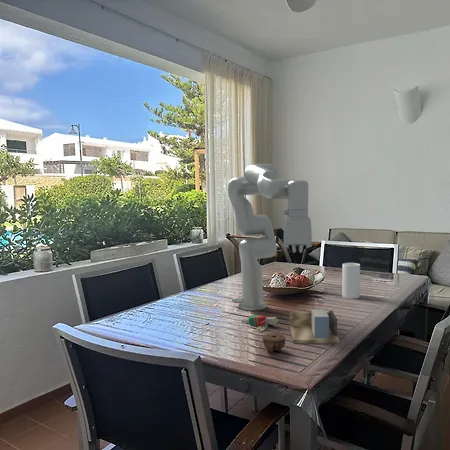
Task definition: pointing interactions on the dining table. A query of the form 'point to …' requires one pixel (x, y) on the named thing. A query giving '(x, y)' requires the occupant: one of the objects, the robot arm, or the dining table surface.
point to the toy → (261, 321)
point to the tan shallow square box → (303, 328)
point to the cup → (351, 280)
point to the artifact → (274, 341)
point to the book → (320, 324)
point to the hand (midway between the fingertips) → (297, 262)
